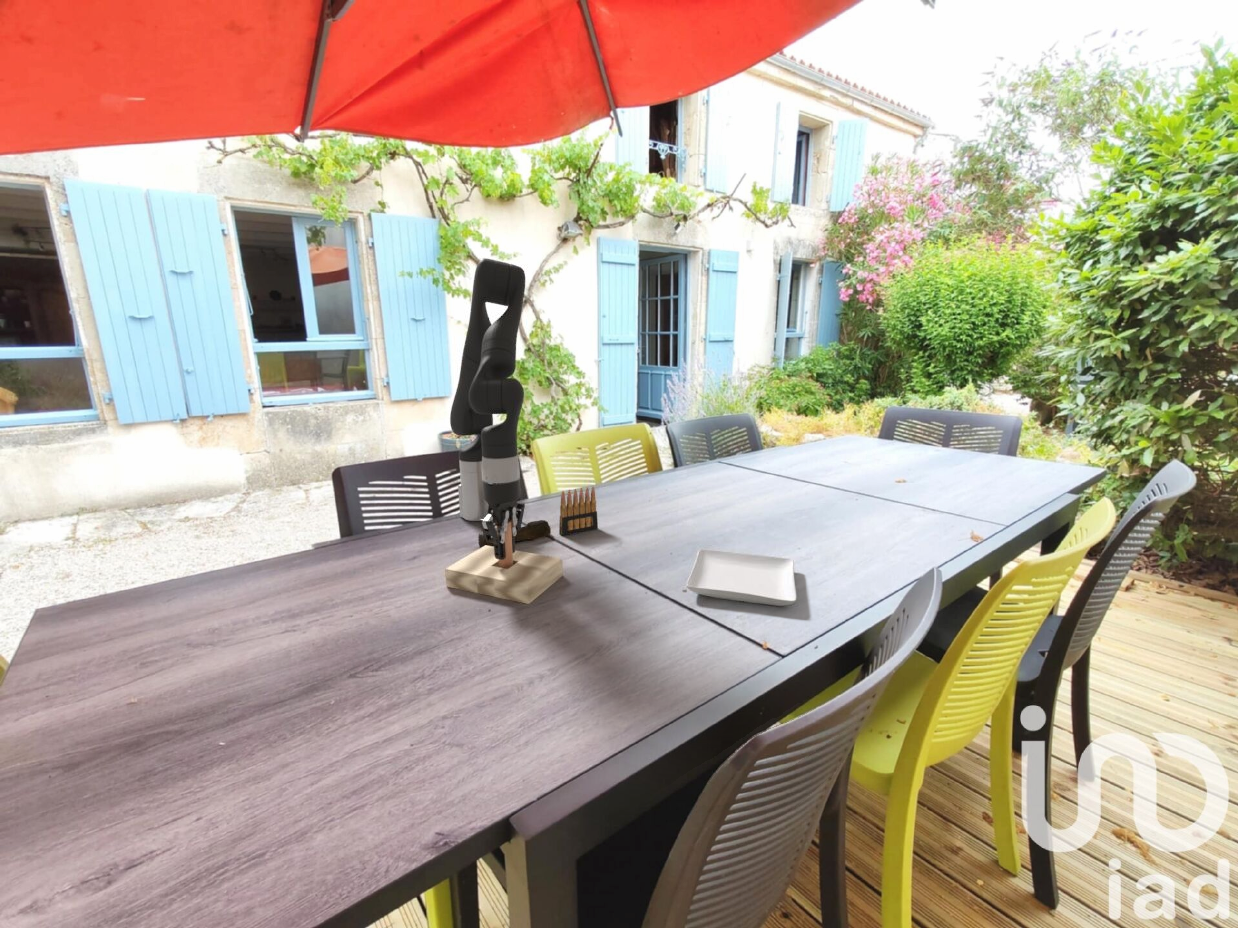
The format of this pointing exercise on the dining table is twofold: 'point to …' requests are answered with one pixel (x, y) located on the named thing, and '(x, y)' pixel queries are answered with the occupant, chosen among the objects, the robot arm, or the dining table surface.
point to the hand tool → (525, 532)
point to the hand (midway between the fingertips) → (505, 555)
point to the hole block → (505, 575)
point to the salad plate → (743, 577)
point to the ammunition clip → (578, 513)
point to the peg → (507, 548)
